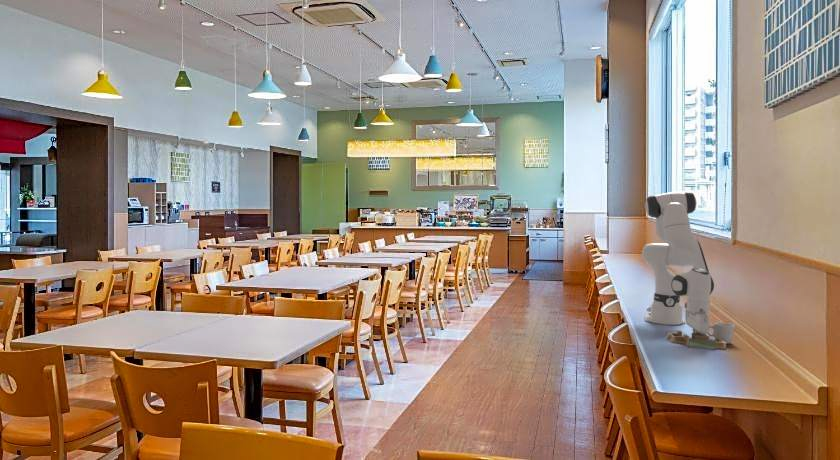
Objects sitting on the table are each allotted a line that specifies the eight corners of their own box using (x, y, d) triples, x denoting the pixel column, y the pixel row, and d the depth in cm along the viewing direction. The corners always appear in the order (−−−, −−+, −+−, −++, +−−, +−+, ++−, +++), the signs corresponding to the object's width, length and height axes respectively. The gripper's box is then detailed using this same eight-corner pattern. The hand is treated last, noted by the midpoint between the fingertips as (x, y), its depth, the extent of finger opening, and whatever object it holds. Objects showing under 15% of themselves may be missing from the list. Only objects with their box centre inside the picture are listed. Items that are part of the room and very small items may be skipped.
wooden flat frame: (666, 337, 282) (666, 329, 282) (712, 339, 280) (712, 332, 280) (677, 346, 265) (678, 338, 264) (727, 349, 262) (727, 341, 262)
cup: (705, 342, 275) (706, 323, 275) (706, 339, 282) (707, 320, 282) (733, 345, 270) (734, 326, 270) (734, 342, 277) (735, 323, 277)
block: (691, 344, 270) (691, 332, 270) (703, 345, 269) (704, 333, 269) (694, 347, 265) (695, 335, 265) (707, 347, 264) (708, 335, 264)
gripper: (714, 312, 260) (712, 345, 261) (698, 303, 280) (696, 335, 281) (698, 311, 261) (696, 344, 262) (683, 303, 281) (681, 334, 282)
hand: (696, 339), depth 272 cm, fingers closed
